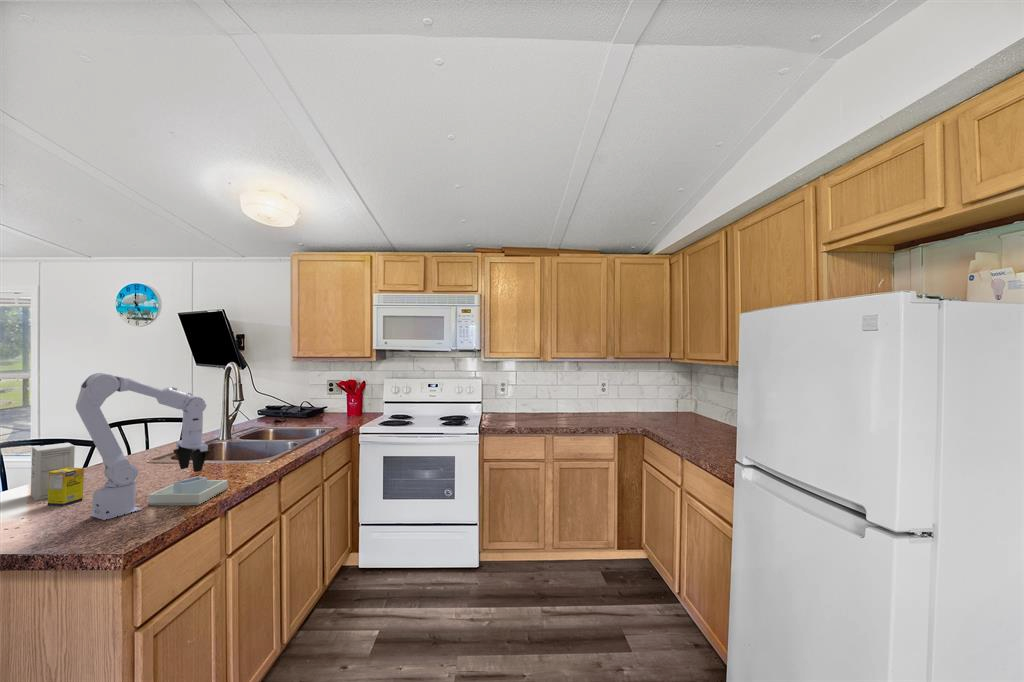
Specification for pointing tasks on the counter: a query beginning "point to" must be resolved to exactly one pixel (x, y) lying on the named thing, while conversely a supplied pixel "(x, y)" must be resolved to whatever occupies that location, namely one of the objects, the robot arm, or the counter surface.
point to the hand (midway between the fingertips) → (190, 469)
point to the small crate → (190, 486)
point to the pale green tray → (168, 498)
